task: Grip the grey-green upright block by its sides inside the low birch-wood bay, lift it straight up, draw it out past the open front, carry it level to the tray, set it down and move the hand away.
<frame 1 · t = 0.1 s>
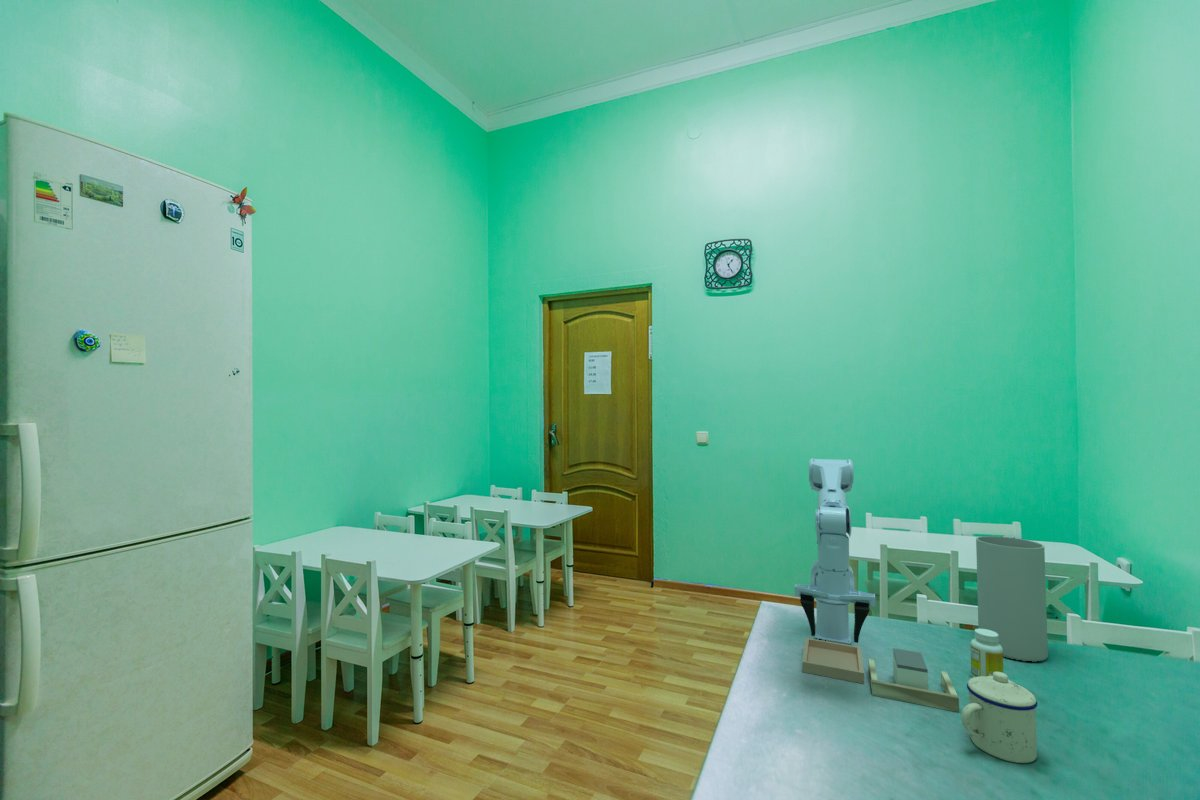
hand: (834, 637, 102), 10 cm above the table, tool pointing down, fingers open, 7 cm apart
grey-green upright block: (910, 689, 102), on the table
cylinder vase: (1012, 651, 120), on the table
supplement bottle: (987, 680, 106), on the table
teacup with lid: (995, 749, 83), on the table
tray: (832, 663, 112), on the table
bay: (910, 688, 102), on the table
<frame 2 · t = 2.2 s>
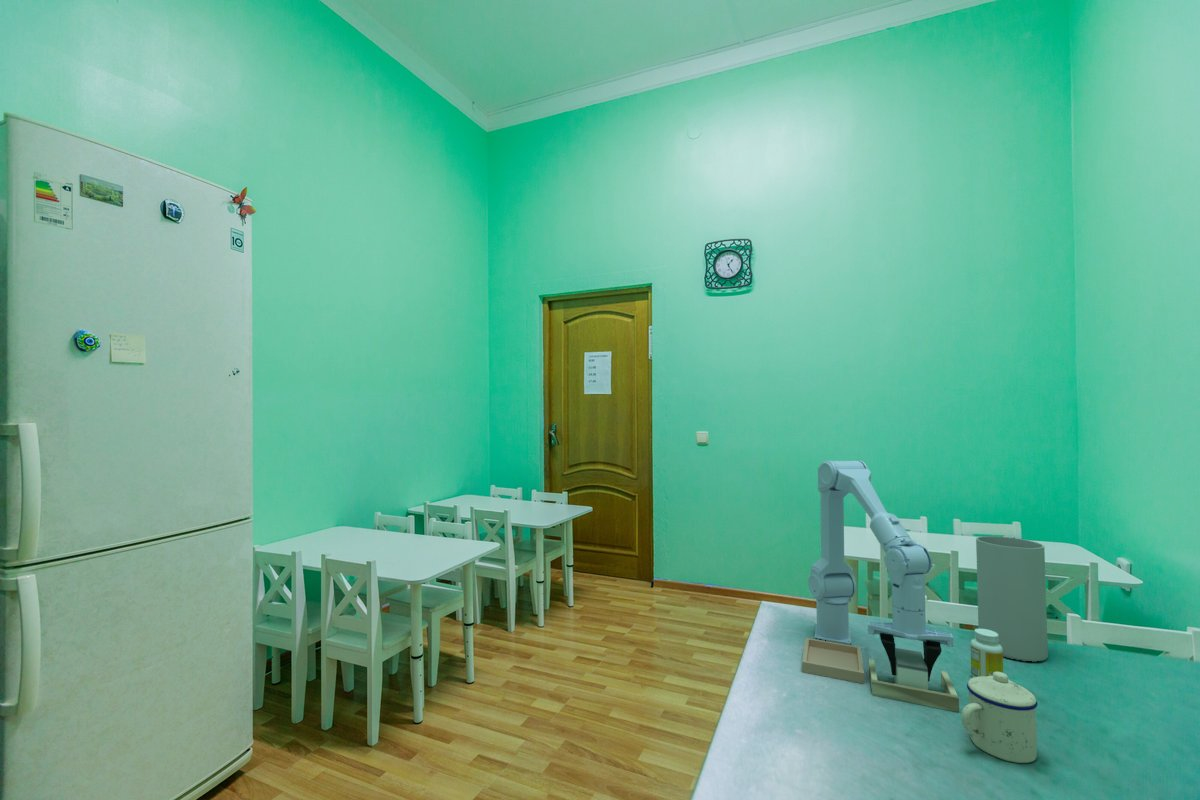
hand: (909, 676, 102), 2 cm above the table, tool pointing down, fingers closed on grey-green upright block, 5 cm apart
grey-green upright block: (910, 688, 102), on the table, touching gripper
everything else where it was.
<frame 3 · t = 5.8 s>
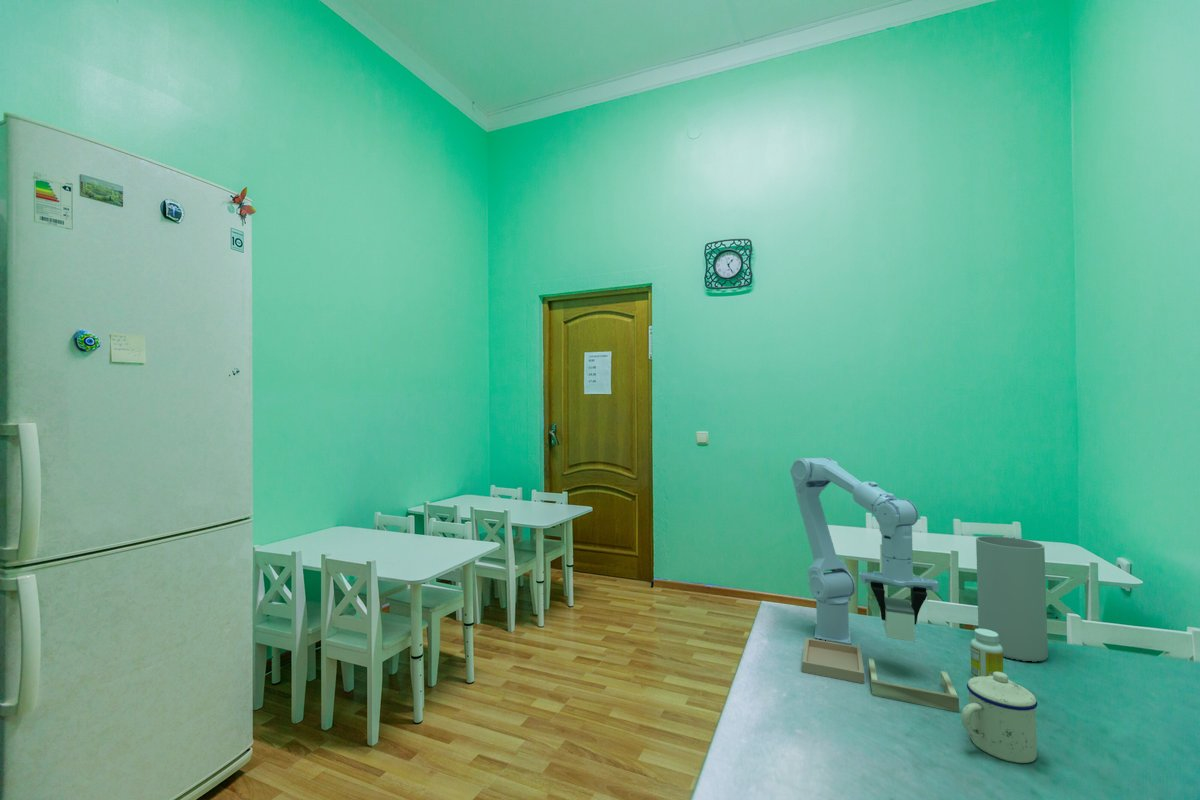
hand: (898, 620, 110), 10 cm above the table, tool pointing down, fingers closed on grey-green upright block, 5 cm apart
grey-green upright block: (898, 632, 110), point 8 cm above the table, touching gripper
everything else where it was.
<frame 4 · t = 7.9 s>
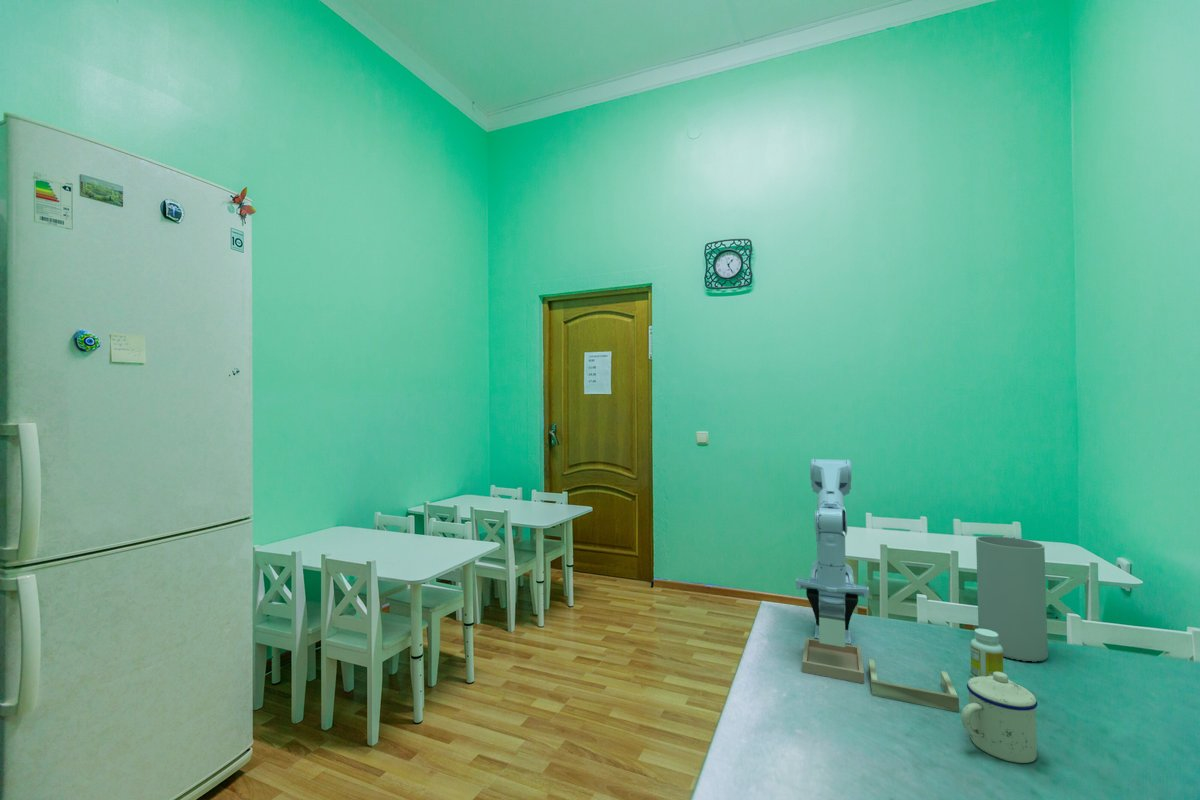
hand: (832, 626, 113), 8 cm above the table, tool pointing down, fingers closed on grey-green upright block, 5 cm apart
grey-green upright block: (832, 638, 113), point 6 cm above the table, touching gripper
everything else where it was.
when the fingers open (5 cm above the table, at t = 9.5 s): grey-green upright block drops 2 cm, resting on tray.
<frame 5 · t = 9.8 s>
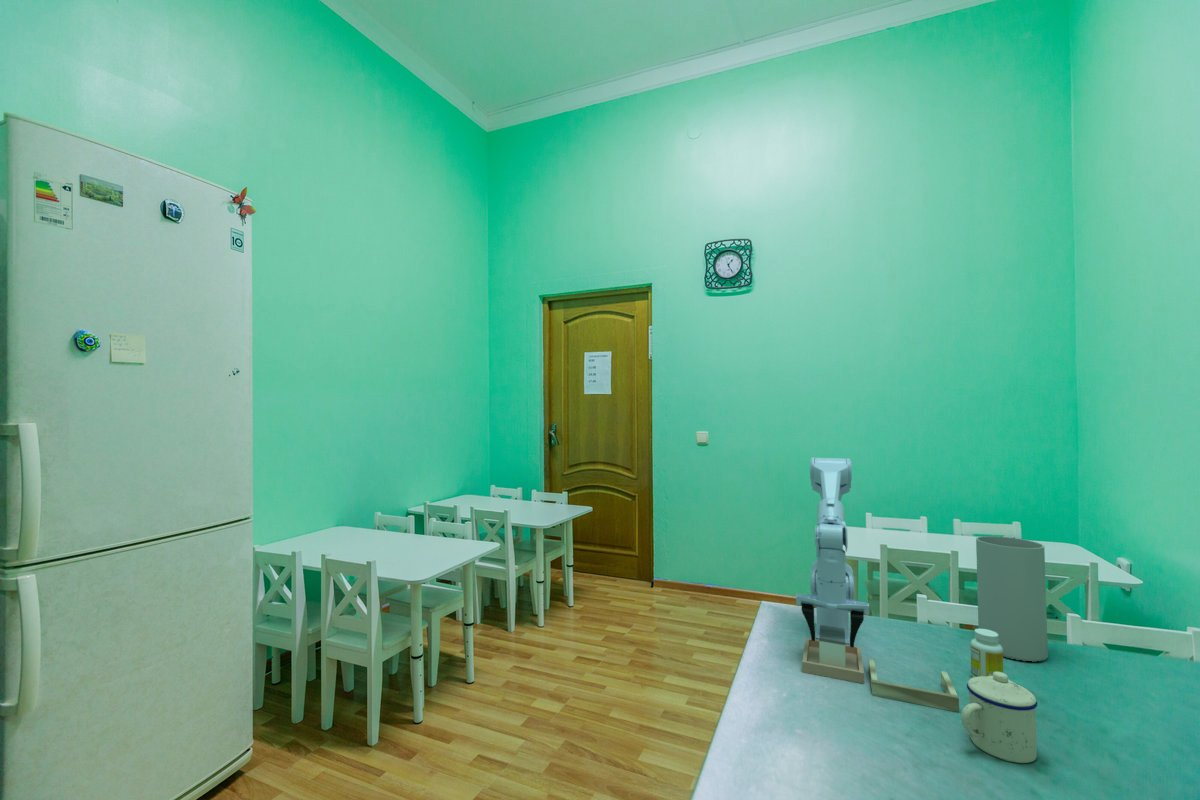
hand: (832, 642, 113), 5 cm above the table, tool pointing down, fingers open, 7 cm apart
grey-green upright block: (832, 661, 112), point 1 cm above the table, touching tray
everything else where it was.
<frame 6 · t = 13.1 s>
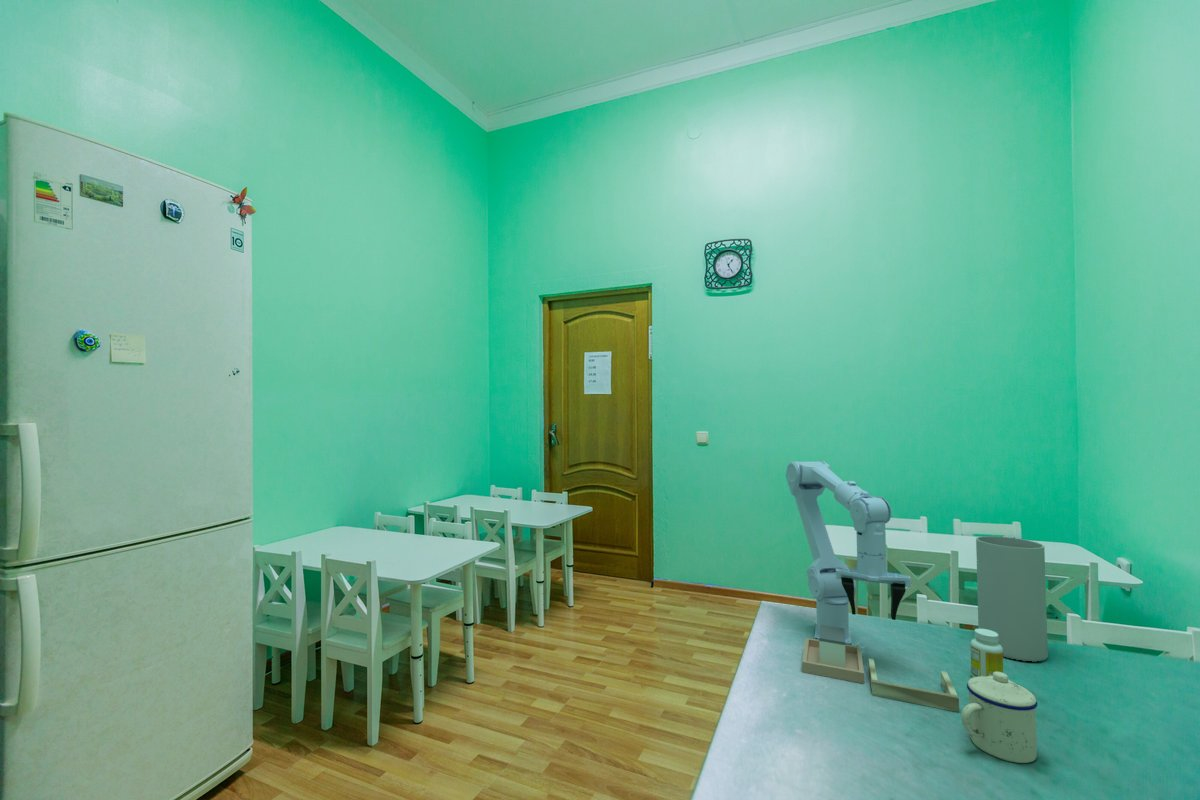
hand: (873, 615, 113), 10 cm above the table, tool pointing down, fingers open, 7 cm apart
nothing on the table moved.
at the end: grey-green upright block 0.1 cm off-centre on the tray, point 0.6 cm above the tray's base; grey-green upright block tilted 0°; the gripper is holding nothing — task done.
